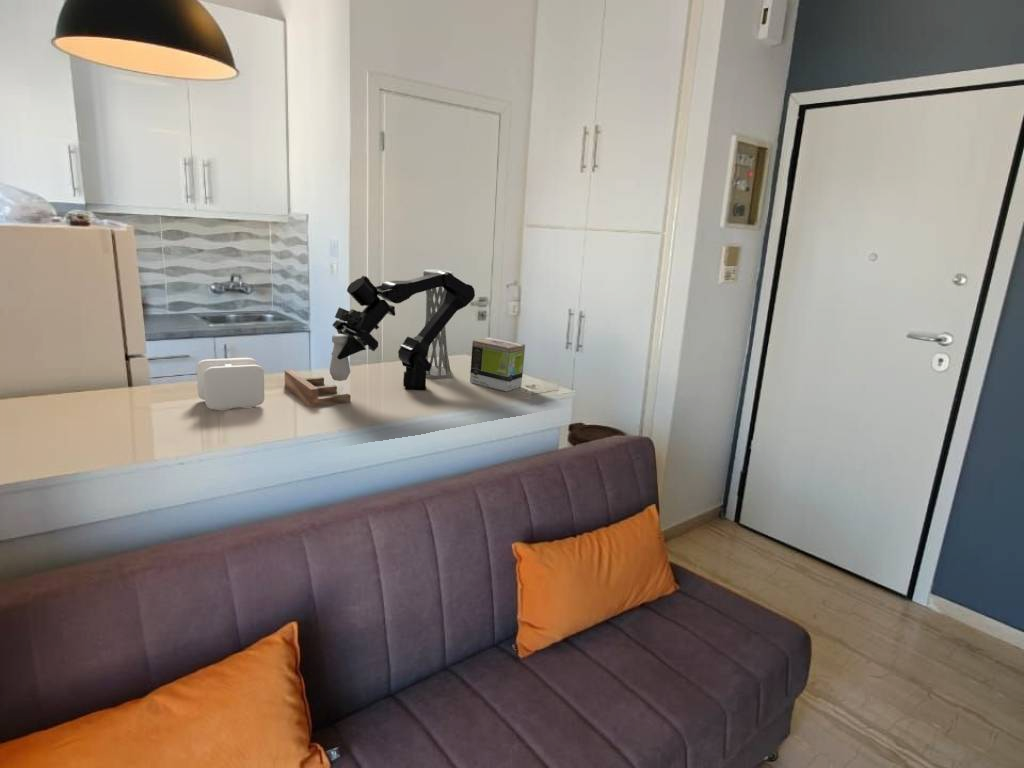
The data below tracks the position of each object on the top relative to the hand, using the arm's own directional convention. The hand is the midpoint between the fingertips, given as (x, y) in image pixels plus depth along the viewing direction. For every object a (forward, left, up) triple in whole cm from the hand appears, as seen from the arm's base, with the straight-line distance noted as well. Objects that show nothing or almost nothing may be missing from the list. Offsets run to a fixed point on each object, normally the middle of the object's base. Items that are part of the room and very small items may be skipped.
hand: (335, 357), depth 174 cm
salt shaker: (-1, -1, -7) cm, 7 cm away
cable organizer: (+26, +7, -12) cm, 30 cm away
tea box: (-51, -19, -12) cm, 55 cm away
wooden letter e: (+5, -3, -12) cm, 14 cm away
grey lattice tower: (-31, -31, -12) cm, 45 cm away
